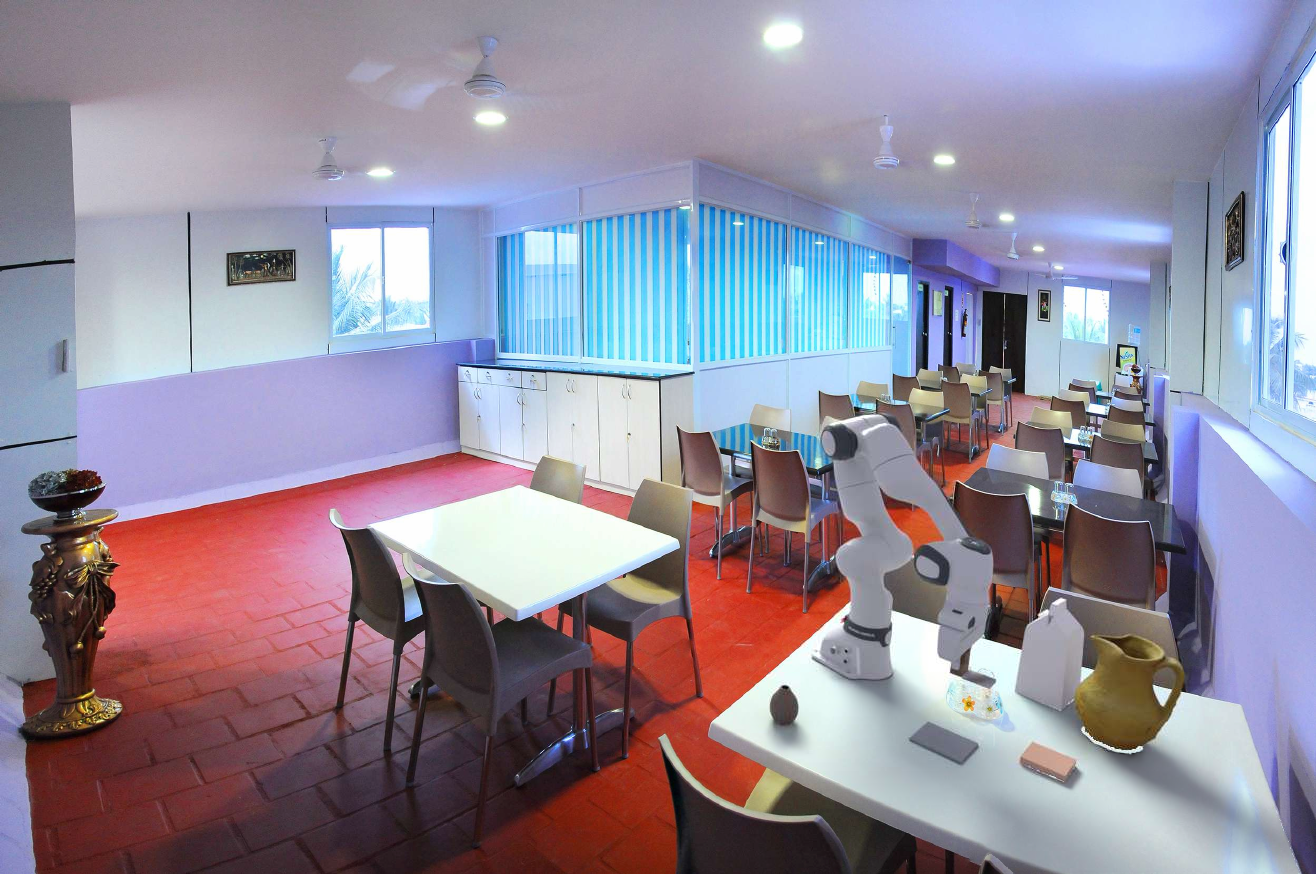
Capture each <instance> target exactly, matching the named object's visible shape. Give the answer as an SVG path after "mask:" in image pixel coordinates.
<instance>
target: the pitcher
mask: <svg viewBox="0 0 1316 874" xmlns="http://www.w3.org/2000/svg"><path fill="white" fill-rule="evenodd" d="M1089 639H1090V640H1091V642H1092V643H1093V644H1094V646H1095V648H1096V651H1097V660H1096V661H1097V663H1096V666H1095V668H1094V670H1093V671H1092V672H1091V673H1090V675H1088V676H1087V677H1086V678H1084V679H1083V680H1082V681H1081V682H1080V684H1079V686H1078V687H1077V689H1076V692H1075V698H1074V701H1073V702H1074V708H1075V709H1076V712H1075V713H1076V715H1077V716H1078V717H1079V718H1080V721H1081V722H1082V723H1083V725H1084V727H1085V732H1087V733H1089V735H1090V736H1091V737H1093V739H1094V740H1096V741H1099V742H1102V743H1103V744H1106V745H1108V746H1110V747H1114V748H1115V749H1121V750H1132V749H1136V748H1137V747H1138V746H1143V747H1144V745H1147V743H1149V742H1151V741H1153V740H1155V739H1156V738H1157V735H1158V734H1159V732H1161V729H1162V728H1163V727H1164V726H1165V724H1166V723H1167V722H1168V721H1169V720H1170V718H1171V717H1172V713H1173V711H1174V708H1175V707H1176V706H1177V701H1178V700H1179V697H1180V696H1181V695H1182V689H1183V686H1184V682H1185V671H1184V667H1183V665H1182V664H1181V662H1180V661H1178V660H1177V659H1175V658H1174V657H1169V656H1166V653H1165V650H1164V649H1163V648H1162V647H1161V646H1159V645H1157V644H1156V643H1155V642H1153V641H1150V640H1148V639H1147V638H1144V637H1141V636H1138V635H1136V634H1133V633H1129V634H1126V635H1123V636H1111V635H1110V636H1109V635H1103V634H1101V635H1100V634H1095V635H1091V636H1090V638H1089ZM1167 667H1168V668H1169V669H1171V670H1172V671H1173V673H1174V675H1175V680H1174V683H1173V686H1172V689H1171V691H1170V694H1169V695H1168V697H1167V699H1166V701H1165V703H1164V705H1162V704H1161V703H1160V700H1159V699H1158V697H1157V695H1156V692H1155V690H1154V675H1155V673H1156V672H1157V671H1159V670H1162V669H1165V668H1167Z"/></svg>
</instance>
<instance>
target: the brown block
mask: <svg viewBox="0 0 1316 874" xmlns="http://www.w3.org/2000/svg"><path fill="white" fill-rule="evenodd" d="M971 650H972V648H971V649H968V650H967V651H966V652H964V653H963V654H962V656H961V657H960V661H962V663H961V667H960V669H959V670H955V669H953V668H951V666H950V668H949V674H951V675H954V676H957V677H959V678H962V680H964V681H967V682H970V683H973V684H975V685H978V686H981V687H983V688H985V689H989V690H991V689H992V687H993V686H994V685H995V684H996V682H997V679H996V678H994V677H991V676H988V675H985V674H982V673H981V672H977V671H974V670H972V669H969V666H970V658H971Z"/></svg>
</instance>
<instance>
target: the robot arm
mask: <svg viewBox="0 0 1316 874" xmlns="http://www.w3.org/2000/svg"><path fill="white" fill-rule="evenodd" d="M902 431H903V430H902V427H901V424H900V421H899V420H898V419H897V418H896V416H894V415H892V414H890V413H883V412H882V413H875V414H866V415H858V416H855V417H852V418H848V419H844V420H841V421H838V420H837V421H833V422H832V423H829V424H827V425H826V426H825V427H823V430H822V432H821V435H820V444H821V449H822V451H823V453H824V454H825V455H826V456H827V457H828V458H829V460H833V472H834V473H833V474H834V480H835V485H836V489H837V493H838V497H839V501H840V504H841V505H840V506H841V508H842V513H843V515H844V517H845V518H846V519H847V520H848V521H849V522H851V523H853V524H854V525H855V526H856V527H857V529H858V530H859V532H860V534H861V536H859V537H855V538H852V539H850V540H848V541H847V542H844V544H842V545H841V546H840V547H839V548H838V549H837V550H836V555H835V562H836V566H837V568H838V571H839V572H840V573H841V574H842V575H843V576H844V577H845V578H846V579H847V581H848V585H849V588H850V607H849V611H848V614H845V615H844V616H843V617H842V618H841V619H840V624H842V623H843V624H842V625H841V626H839V627H836V628H833V629H832V630H830V631H828V632H827V633H826V634H825V635H824V636H823V638H822V640H821V643H820V644H819V645H817V646H815V648H814V649H813V650H812V654H811V658H812V659H814V660H815V661H817V662H819V663H821V664H823V665H824V666H825V667H828V668H829V669H832V670H834V671H835V672H837V673H838V674H840V675H842V676H844V677H846V678H847V679H849V680H858V679H859V680H860V679H862V680H883V679H887V678H889V677H890V676H891V675H893V672H894V669H893V666H892V659H891V642H892V638H893V637H892V636H893V622H892V613H893V601H894V599H893V595H892V593H891V592H890V591H889V590H888V589H887V588H886V587H885V584H884V576H885V574H886V573H888V572H892V571H894V570H897V569H900V568H901V567H903V566H904V565H906V564H907V563H909V562H910V561H911V560H912V558H913V561H912V562H913V568H914V570H915V573H916V574H917V576H918V577H919V578H920V579H921V580H922V581H923V582H926V583H928V584H931V585H935V586H938V587H939V586H940V587H945V588H946V590H947V591H946V595H945V596H946V598H945V600H944V605H943V607H942V609H941V610H940V612H939V613H938V616H937V622H938V624H940V625H939V628H938V633H937V635H938V636H937V647H936V649H937V650H936V652H937V655H938V657H939V658H940V659H942V660H945V661H947V662H950V667H951V668H953V669H955V670H959V669H960V667H961V663H962V661H960V657H961V656H962V654H963V653H964V652H966V651H967V650H968V649H971V650H972V648H973V646H974V644H976V642H977V641H978V640H980V639H981V638H983V636H984V635H985V632H986V624H987V619H988V611H989V605H990V596H989V590H990V588H991V585H992V580H993V574H994V573H993V572H994V555H993V551H992V548H991V546H990V545H989V544H987V543H986V542H985V541H983V540H981V539H978V538H977V537H975V536H974V534H972V532H971V531H970V530H969V528H968V527H967V525H966V524H965V522H964V520H963V519H962V518H961V516H960V514H959V513H958V512H957V510H956V508H955V507H954V505H953V504H952V502H951V500H950V499H949V497H948V496H947V494H946V493H945V491H944V490H943V489H942V487H940V484H938V483H937V482H936V481H935V480H933V479H932V478H931V477H930V475H929V474H928V473H927V472H926V470H924V468H923V467H922V466H921V463H920V462H919V460H918V458H917V456H916V455H915V453H914V451H913V449H912V447H911V445H910V444H909V442H908V440H907V439H906V437H905V436H904V434H903V433H902ZM880 489H881V490H882V492H883V493H884V494H885V495H886V496H888V497H889V498H892V499H894V500H897V501H901V502H905V503H908V504H912V505H914V506H916V507H919V508H920V509H922V510H924V511H925V512H926V513H927V514H928V516H929V517H930V518H931V520H932V522H933V523H934V525H935V526H936V528H937V530H938V531H939V533H940V535H941V536H942V538H943V540H937V541H932V542H927V543H924V544H921V545H919V546H918V547H917V548H916V550H915V552H914V544H913V541H912V539H911V538H910V537H909V536H908V535H907V534H906V533H905V532H903V531H901V530H900V529H899V528H898V526H897V525H896V524H895V523H894V521H893V520H892V518H891V517H890V514H889V513H888V510H887V509H886V505H885V504H884V503H885V502H884V500H883V496H882V494H881V493H882V492H881V490H880Z"/></svg>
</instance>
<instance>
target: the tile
mask: <svg viewBox="0 0 1316 874" xmlns="http://www.w3.org/2000/svg"><path fill="white" fill-rule="evenodd" d="M1019 758H1020V759H1019V764H1020V763H1022V764H1023V766H1024V765H1026V766H1025V767H1027V766H1030V767H1031V768H1033V769H1035V770H1034V771H1036V770H1039V771H1040V772H1043V773H1045V774H1048V775H1051V776H1054V777H1056V778H1057V779H1060V780H1062V781H1064V782H1065V781H1066V782H1067V780H1068V779H1067V777H1068V776H1069V774H1070V773H1071V771H1072V770H1073V768H1074V767H1075V768H1076V766H1075V765H1077V759H1075V758H1073V757H1071V756H1069V755H1066V754H1063V753H1060V752H1058V751H1056V750H1054V749H1051V748H1048V747H1046V746H1044V745H1041V744H1040V743H1037V742H1034V741H1032V742H1031V743H1030V744H1029V745H1028V746H1027V748H1026V749H1025V750H1024V751H1023V753H1022V754H1021V755H1020V757H1019ZM1022 764H1021V765H1022ZM1031 768H1030V769H1031ZM1075 768H1074V769H1075ZM1033 769H1032V770H1033ZM1073 771H1074V770H1073ZM1073 771H1072V772H1073ZM1040 772H1039V773H1040ZM1043 773H1042V774H1043ZM1045 774H1044V775H1045ZM1071 774H1072V773H1071ZM1071 774H1070V775H1071ZM1069 777H1070V776H1069ZM1069 777H1068V778H1069ZM1066 779H1067V780H1066ZM1066 782H1065V783H1066Z"/></svg>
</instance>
